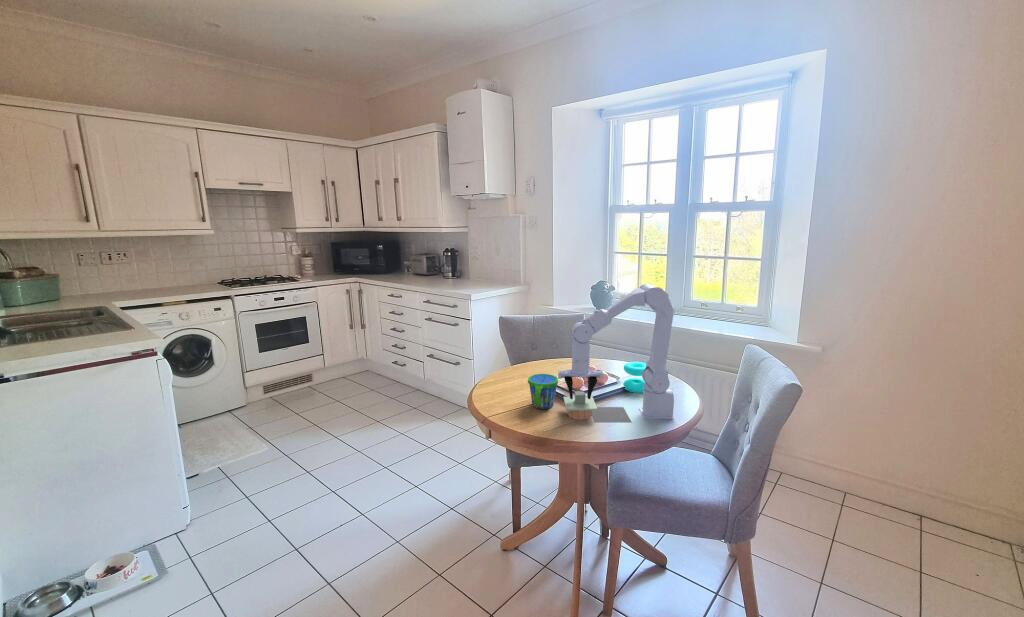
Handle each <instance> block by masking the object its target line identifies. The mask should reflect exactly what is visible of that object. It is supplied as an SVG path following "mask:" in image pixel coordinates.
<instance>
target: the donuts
mask: <svg viewBox="0 0 1024 617" xmlns="http://www.w3.org/2000/svg"><path fill="white" fill-rule="evenodd" d="M645 367H646V363H645V362H641V361H629V362H626V363H625V364H624V366H623V370H624V371H625V373H626V374H628V375H630V376H634V377H632V378H627V379H625V380H624V381H623V383H622V384H623V385H624V386H625V388H624V390H626V391H627V392H629V393H630V392H631V393H636V394H637V393H638V394H641V393H643V392H644V385H645V381H644V380H643V378H640V377H642V373H643V370H644V369H645ZM638 377H639V378H638ZM623 385H622V386H623Z"/></svg>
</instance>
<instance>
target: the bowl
mask: <svg viewBox="0 0 1024 617" xmlns="http://www.w3.org/2000/svg"><path fill="white" fill-rule="evenodd" d="M566 411H567V416H568V417H569V418H571V419H574V420H580V421H582V420H588V419H590V418H591V417H592V410H566Z"/></svg>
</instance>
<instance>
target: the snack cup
mask: <svg viewBox="0 0 1024 617" xmlns="http://www.w3.org/2000/svg"><path fill="white" fill-rule="evenodd" d="M527 383H528V385H529V391H530V392H529V393H530V397H531V398H530V399H531V403H532V406H533V407H534V408H536V409H539V410H548V409H551V408H552V407H553V406H554V404H555V398H556V392H557V386H558V383H559V377H557V376H555V375H554V374H549V373H537V374H532V375H530V376H529V377H528V379H527Z"/></svg>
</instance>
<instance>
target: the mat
mask: <svg viewBox="0 0 1024 617" xmlns="http://www.w3.org/2000/svg"><path fill="white" fill-rule="evenodd" d="M591 417H592V420H593V422H594V423H633V422H632V420H631V418H630V417H629V415H628V413H627V411H626V409H625V407H624V406H611V407H610V406H597V410H592V416H591Z"/></svg>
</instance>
